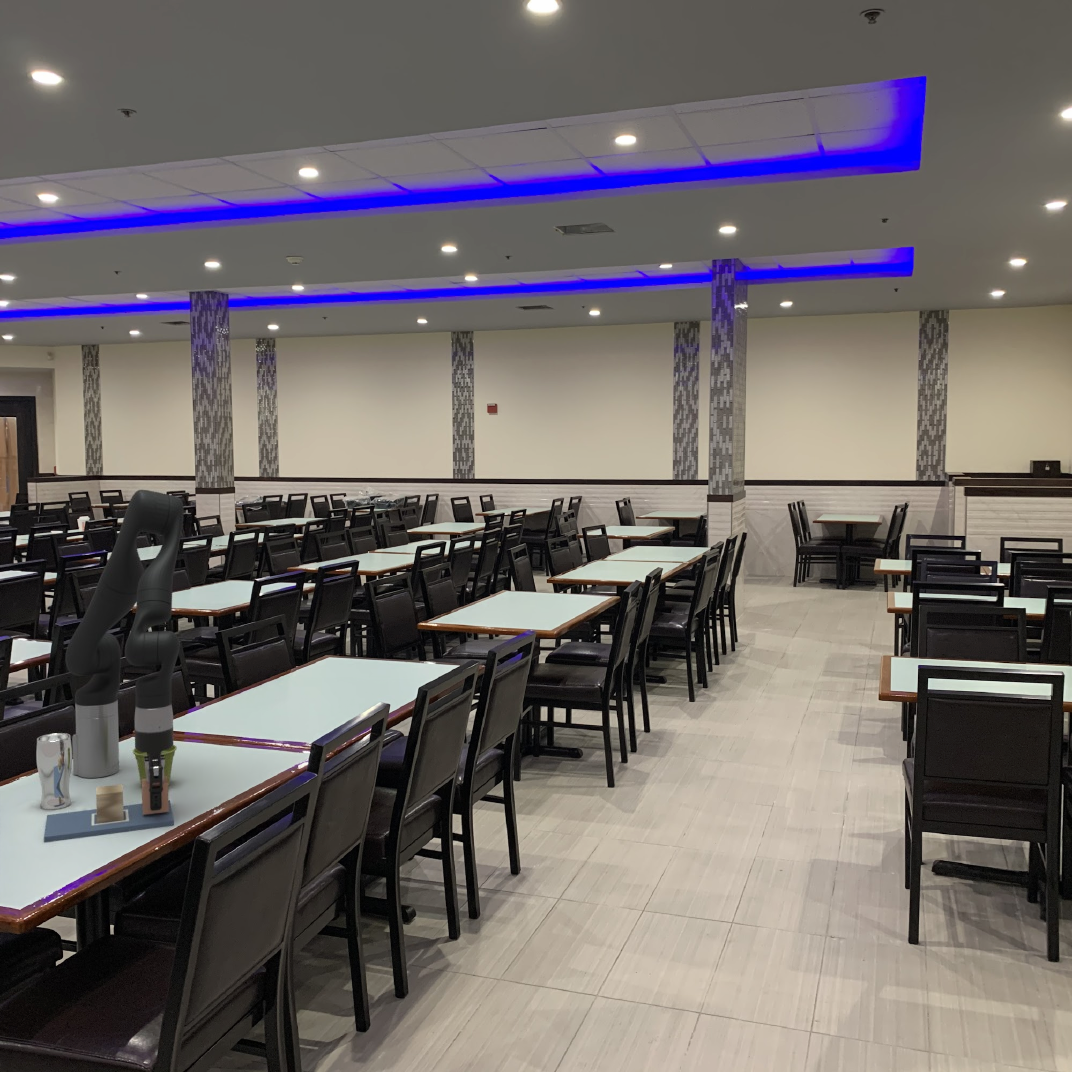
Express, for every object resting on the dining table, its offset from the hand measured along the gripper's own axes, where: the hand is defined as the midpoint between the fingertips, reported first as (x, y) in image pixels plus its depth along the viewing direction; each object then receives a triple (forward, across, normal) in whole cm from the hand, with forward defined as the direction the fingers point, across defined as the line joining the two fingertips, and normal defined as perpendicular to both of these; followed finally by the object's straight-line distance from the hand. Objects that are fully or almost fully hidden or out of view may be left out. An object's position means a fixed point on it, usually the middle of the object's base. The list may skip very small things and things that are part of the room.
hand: (155, 804), depth 209 cm
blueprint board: (+3, 0, +9) cm, 9 cm away
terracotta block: (+1, 0, 0) cm, 1 cm away
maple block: (+2, 0, +9) cm, 9 cm away
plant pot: (+3, +21, -1) cm, 21 cm away
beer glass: (+3, +15, +20) cm, 25 cm away
